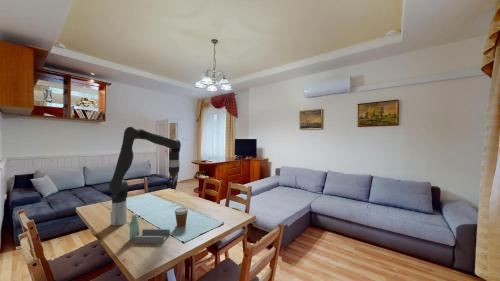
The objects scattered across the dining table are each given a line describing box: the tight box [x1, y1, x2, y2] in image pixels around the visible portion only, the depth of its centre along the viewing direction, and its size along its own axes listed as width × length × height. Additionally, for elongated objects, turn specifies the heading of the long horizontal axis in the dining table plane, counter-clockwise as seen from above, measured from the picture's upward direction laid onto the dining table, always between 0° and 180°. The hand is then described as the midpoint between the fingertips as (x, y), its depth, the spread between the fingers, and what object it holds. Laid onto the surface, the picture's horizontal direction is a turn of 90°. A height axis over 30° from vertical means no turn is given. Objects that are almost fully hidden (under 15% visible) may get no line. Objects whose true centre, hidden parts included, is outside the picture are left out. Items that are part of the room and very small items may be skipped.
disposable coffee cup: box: [174, 207, 189, 228], centre depth 147 cm, size 10×10×12 cm
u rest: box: [133, 228, 171, 244], centre depth 129 cm, size 18×10×4 cm, turn 90°
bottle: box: [129, 212, 140, 242], centre depth 128 cm, size 5×5×16 cm
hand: (173, 187), depth 147 cm, fingers open, 8 cm apart
